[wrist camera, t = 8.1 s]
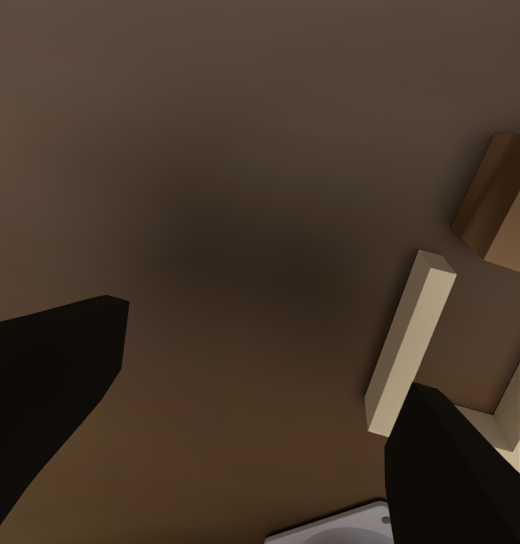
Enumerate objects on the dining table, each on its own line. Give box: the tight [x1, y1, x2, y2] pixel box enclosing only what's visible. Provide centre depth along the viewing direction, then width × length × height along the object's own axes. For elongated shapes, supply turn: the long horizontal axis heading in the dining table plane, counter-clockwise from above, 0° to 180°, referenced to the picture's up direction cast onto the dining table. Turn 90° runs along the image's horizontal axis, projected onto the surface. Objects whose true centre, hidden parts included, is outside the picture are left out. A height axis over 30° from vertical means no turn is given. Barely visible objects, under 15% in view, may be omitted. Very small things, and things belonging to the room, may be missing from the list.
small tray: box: [365, 250, 520, 473], centre depth 19 cm, size 8×7×2 cm
